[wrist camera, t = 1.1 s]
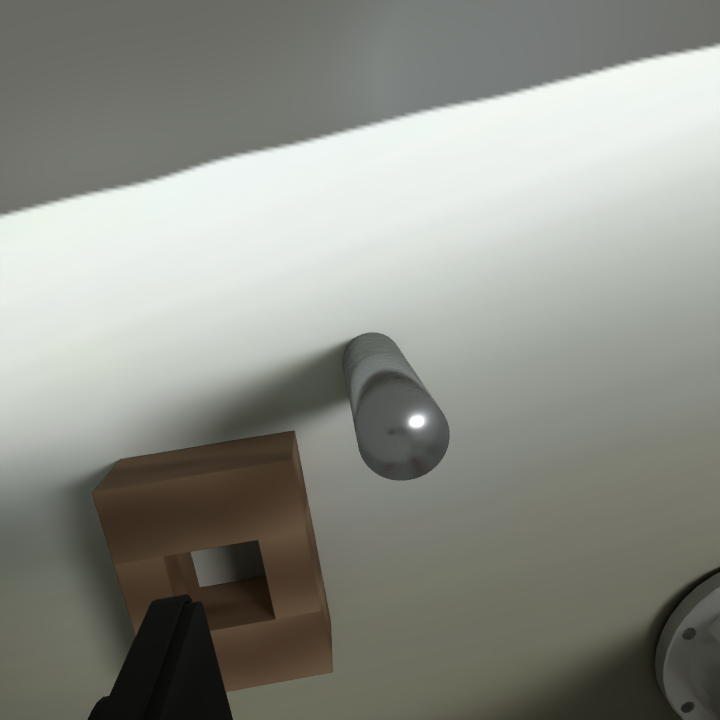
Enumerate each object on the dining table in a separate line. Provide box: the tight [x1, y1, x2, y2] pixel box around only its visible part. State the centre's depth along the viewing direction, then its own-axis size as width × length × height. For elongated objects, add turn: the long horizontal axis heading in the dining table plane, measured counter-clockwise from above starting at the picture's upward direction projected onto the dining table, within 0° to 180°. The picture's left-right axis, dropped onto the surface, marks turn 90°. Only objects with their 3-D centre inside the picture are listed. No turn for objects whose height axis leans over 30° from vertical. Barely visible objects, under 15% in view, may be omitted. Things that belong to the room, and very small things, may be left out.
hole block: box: [92, 431, 333, 692], centre depth 27 cm, size 12×9×4 cm
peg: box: [343, 333, 449, 480], centre depth 22 cm, size 3×3×10 cm
